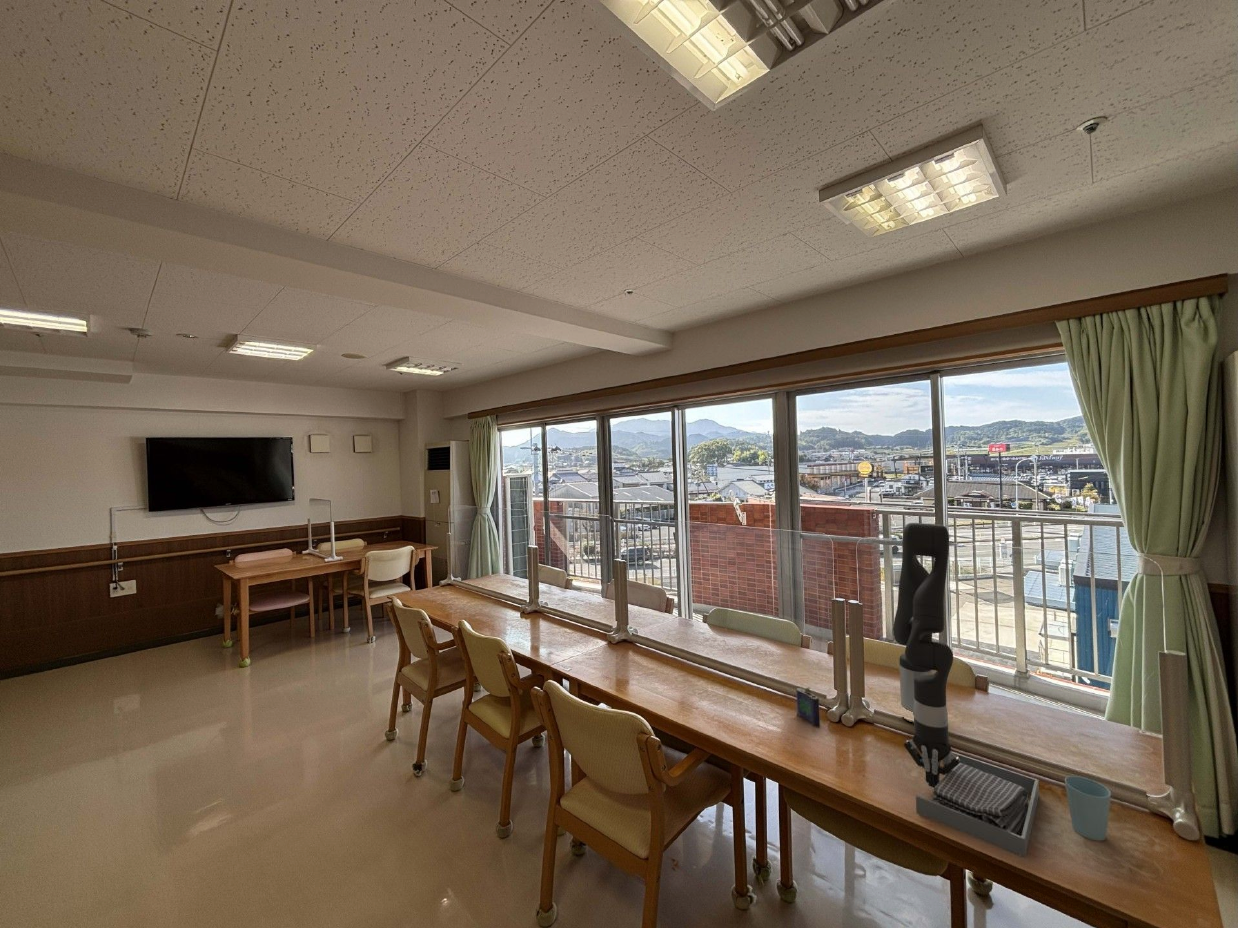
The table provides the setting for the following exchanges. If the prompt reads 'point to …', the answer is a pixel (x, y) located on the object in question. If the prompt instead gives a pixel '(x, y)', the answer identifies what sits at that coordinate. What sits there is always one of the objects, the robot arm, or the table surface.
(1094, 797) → the cup
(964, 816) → the tray
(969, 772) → the towel
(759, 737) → the table surface
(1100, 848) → the table surface
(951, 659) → the robot arm
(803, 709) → the flask
